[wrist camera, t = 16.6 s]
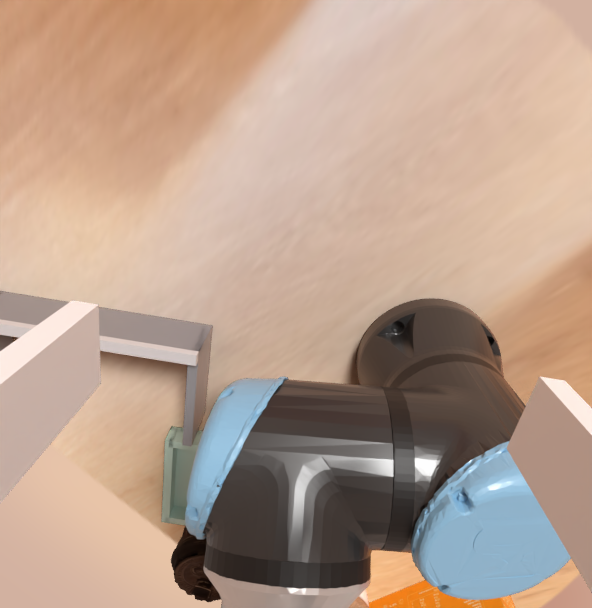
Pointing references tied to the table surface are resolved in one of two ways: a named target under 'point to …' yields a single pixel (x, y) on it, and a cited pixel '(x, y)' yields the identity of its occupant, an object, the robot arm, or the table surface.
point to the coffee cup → (192, 568)
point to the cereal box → (434, 599)
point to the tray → (177, 475)
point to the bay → (129, 343)
